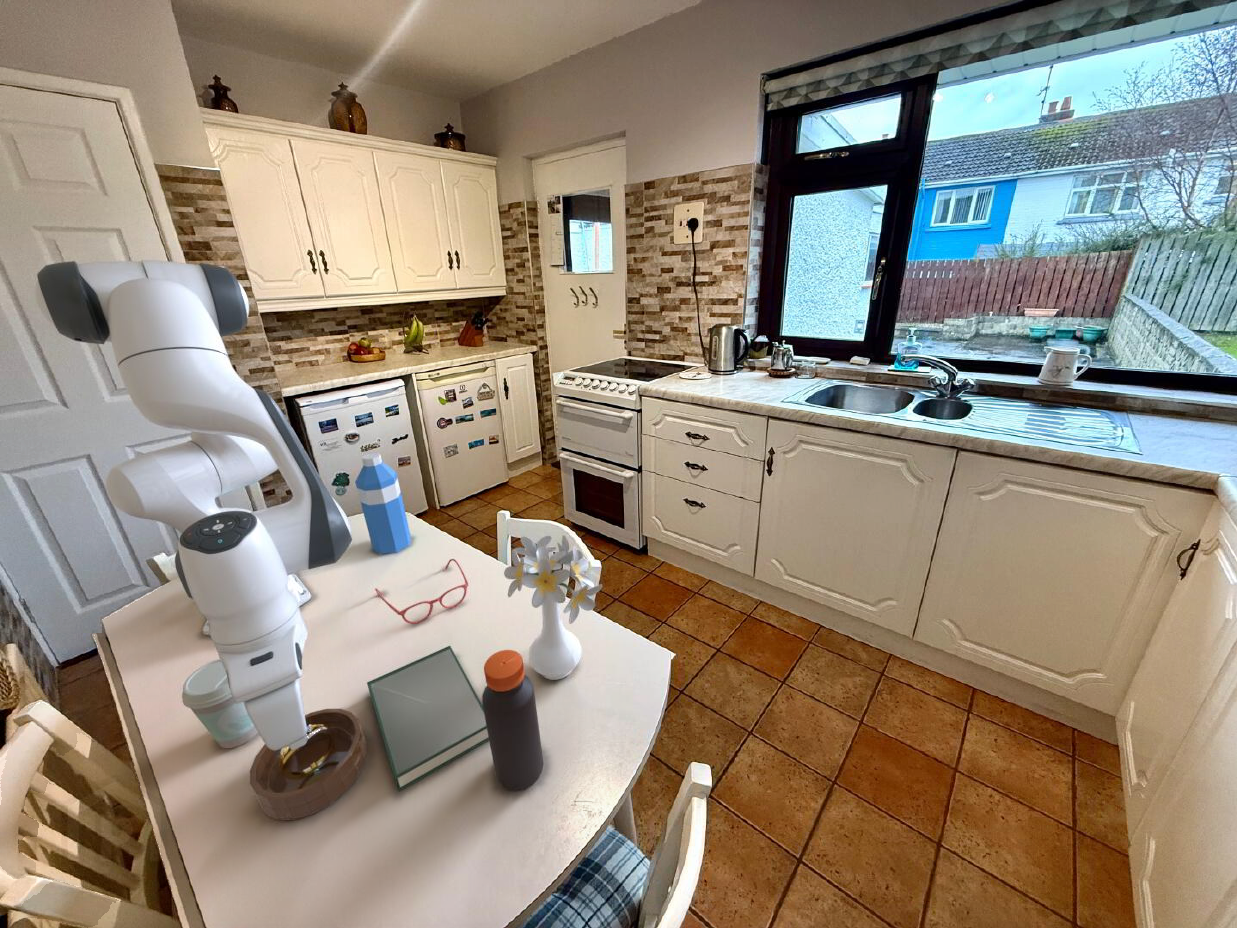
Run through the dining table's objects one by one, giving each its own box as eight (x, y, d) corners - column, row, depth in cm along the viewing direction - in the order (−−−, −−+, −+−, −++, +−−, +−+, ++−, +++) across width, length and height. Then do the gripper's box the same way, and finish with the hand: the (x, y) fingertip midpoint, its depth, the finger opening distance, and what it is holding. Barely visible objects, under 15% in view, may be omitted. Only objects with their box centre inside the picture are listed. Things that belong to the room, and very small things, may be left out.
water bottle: (365, 553, 123) (340, 462, 113) (387, 533, 132) (365, 448, 122) (398, 555, 122) (376, 464, 112) (418, 536, 130) (399, 449, 120)
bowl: (260, 763, 71) (249, 740, 69) (359, 716, 78) (352, 693, 77) (262, 845, 61) (249, 820, 59) (376, 782, 68) (368, 758, 66)
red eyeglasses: (396, 636, 95) (390, 615, 93) (374, 596, 107) (369, 577, 105) (479, 598, 105) (475, 579, 103) (451, 566, 117) (447, 548, 115)
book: (370, 695, 82) (366, 682, 81) (452, 657, 90) (450, 645, 88) (398, 791, 67) (394, 777, 66) (494, 736, 74) (492, 723, 73)
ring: (292, 796, 66) (274, 756, 63) (284, 781, 68) (267, 741, 65) (345, 759, 71) (331, 720, 68) (337, 746, 73) (323, 707, 70)
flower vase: (576, 718, 77) (566, 590, 67) (498, 667, 87) (479, 549, 77) (623, 666, 87) (620, 547, 77) (548, 625, 97) (536, 516, 87)
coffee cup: (222, 767, 71) (191, 708, 66) (197, 740, 75) (167, 682, 71) (284, 723, 78) (260, 666, 73) (258, 700, 82) (234, 645, 77)
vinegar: (517, 739, 74) (501, 637, 66) (553, 759, 71) (541, 655, 63) (485, 777, 69) (464, 671, 61) (522, 801, 65) (505, 693, 58)
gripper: (234, 604, 66) (266, 680, 72) (230, 704, 51) (271, 791, 56) (287, 587, 70) (314, 660, 75) (299, 675, 54) (332, 760, 59)
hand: (296, 717), depth 65 cm, fingers open, 8 cm apart
